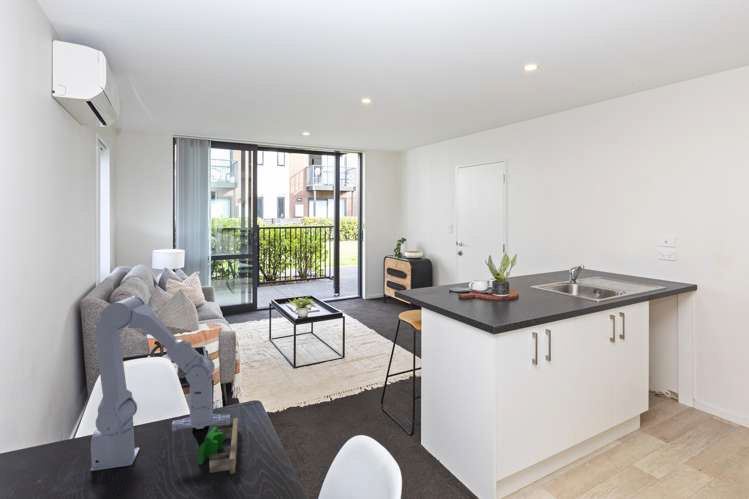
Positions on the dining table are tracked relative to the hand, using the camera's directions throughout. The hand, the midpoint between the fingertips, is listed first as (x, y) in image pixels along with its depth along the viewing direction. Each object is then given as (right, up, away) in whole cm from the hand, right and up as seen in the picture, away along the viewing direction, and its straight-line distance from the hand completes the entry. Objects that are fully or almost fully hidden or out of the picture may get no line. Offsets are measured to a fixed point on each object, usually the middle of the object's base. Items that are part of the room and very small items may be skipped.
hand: (202, 451), depth 113 cm
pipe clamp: (+2, -1, +1) cm, 3 cm away
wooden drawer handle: (+6, -1, +2) cm, 6 cm away
